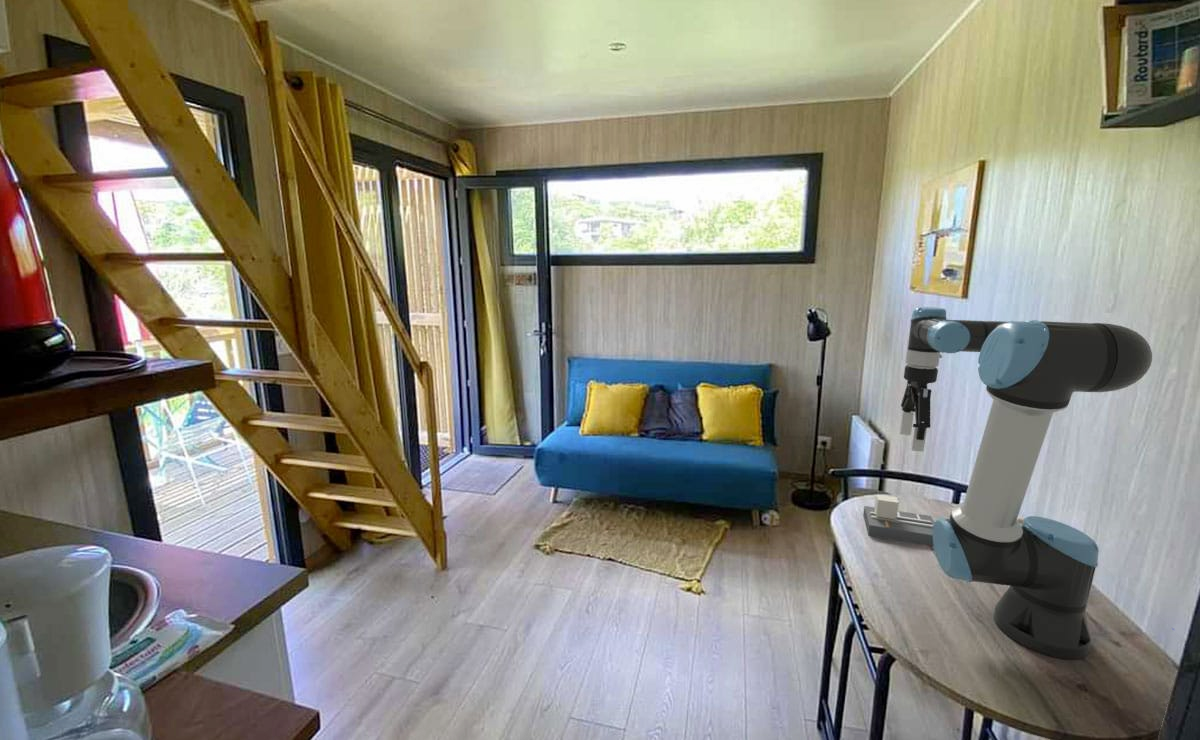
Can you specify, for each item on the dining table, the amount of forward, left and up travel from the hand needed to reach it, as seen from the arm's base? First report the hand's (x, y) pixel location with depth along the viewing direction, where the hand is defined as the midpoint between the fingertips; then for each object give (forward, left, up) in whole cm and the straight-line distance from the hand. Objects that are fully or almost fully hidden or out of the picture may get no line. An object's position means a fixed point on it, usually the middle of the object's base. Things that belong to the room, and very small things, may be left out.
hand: (910, 442), depth 144 cm
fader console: (-3, 0, -25) cm, 25 cm away
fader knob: (-3, +4, -22) cm, 22 cm away
